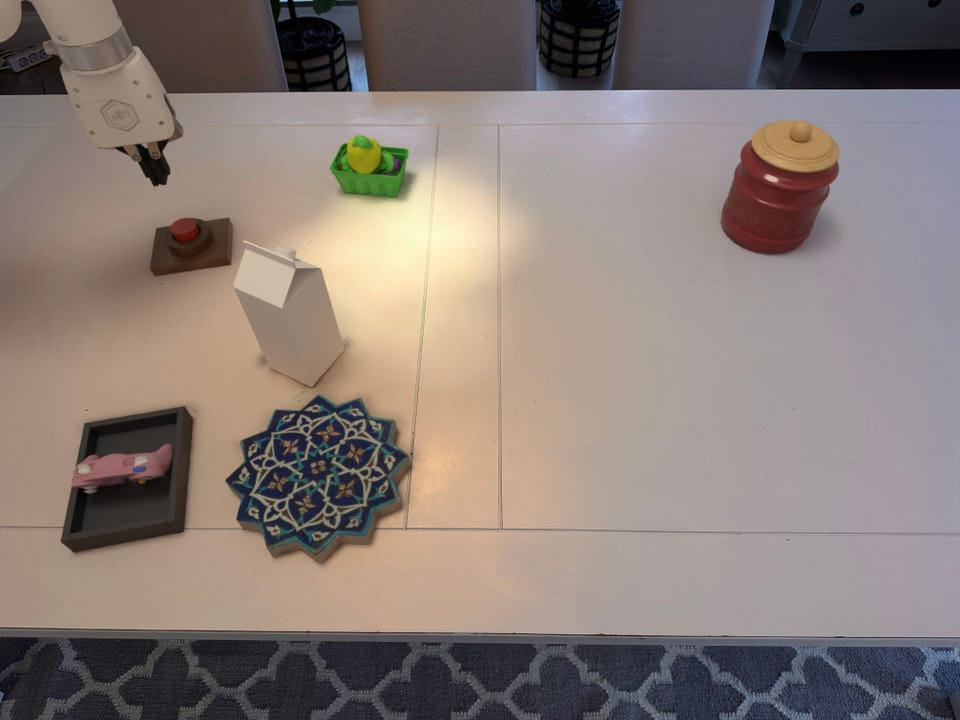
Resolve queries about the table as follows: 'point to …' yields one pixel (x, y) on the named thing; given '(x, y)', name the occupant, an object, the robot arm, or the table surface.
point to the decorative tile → (319, 477)
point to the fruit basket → (369, 167)
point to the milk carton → (288, 312)
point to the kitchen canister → (780, 186)
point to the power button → (185, 230)
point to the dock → (131, 504)
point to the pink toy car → (122, 468)
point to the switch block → (192, 248)
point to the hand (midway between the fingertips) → (161, 179)
